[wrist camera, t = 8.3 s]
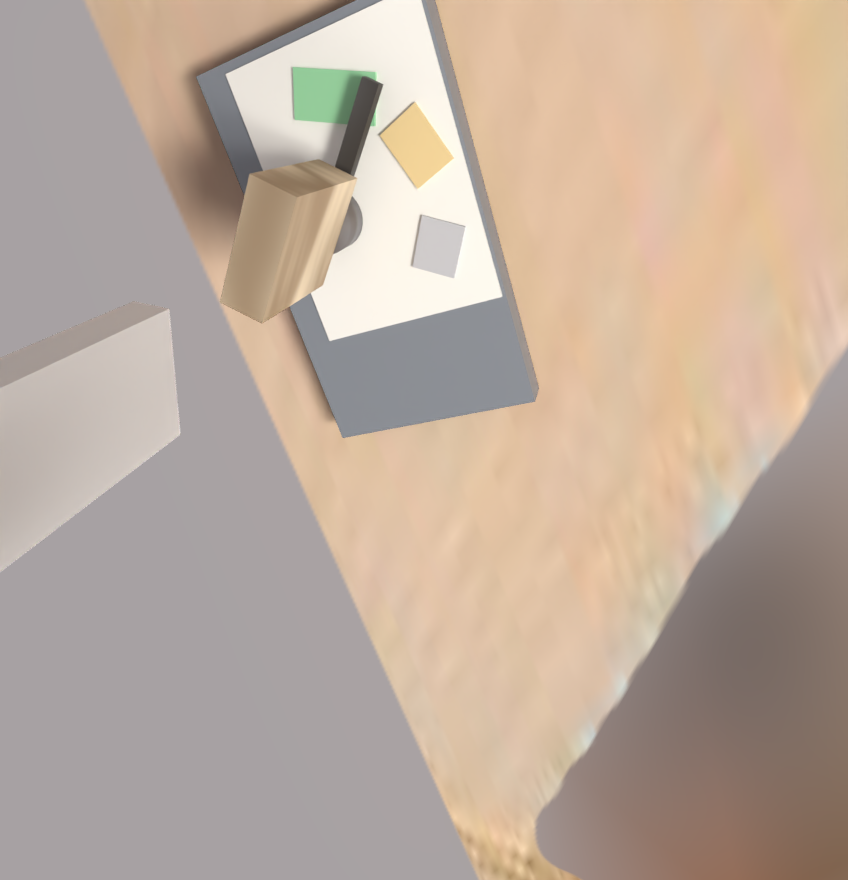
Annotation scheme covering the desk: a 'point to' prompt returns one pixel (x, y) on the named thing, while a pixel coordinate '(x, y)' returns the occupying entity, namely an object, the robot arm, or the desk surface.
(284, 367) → the desk surface
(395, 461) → the desk surface
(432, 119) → the board
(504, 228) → the desk surface
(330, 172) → the wooden block with bar
